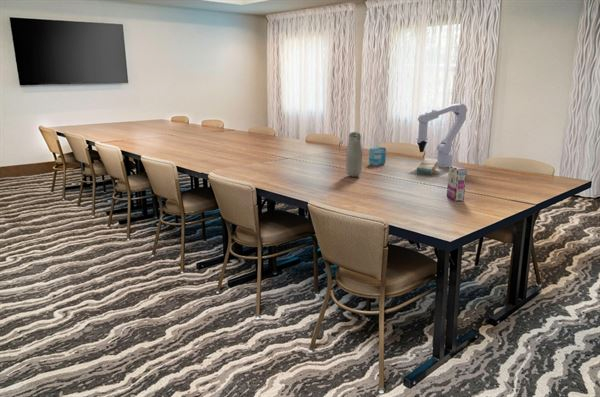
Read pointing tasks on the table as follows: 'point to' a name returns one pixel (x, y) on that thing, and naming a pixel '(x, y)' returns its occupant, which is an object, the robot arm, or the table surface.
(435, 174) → the rubber mat
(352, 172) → the glass bottle
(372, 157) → the data package
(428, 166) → the ash slab
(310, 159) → the table surface
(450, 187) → the candy bar box
